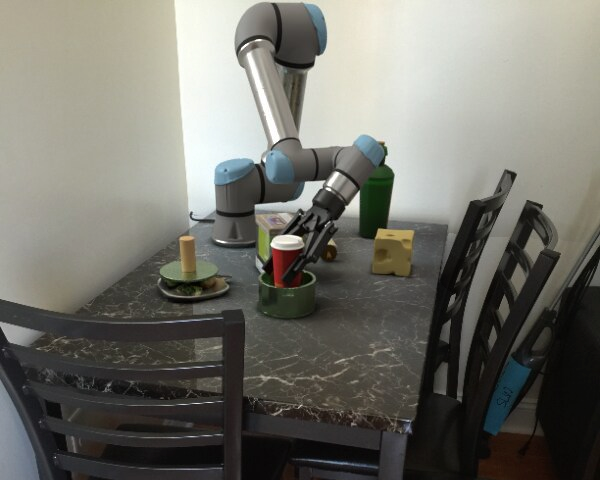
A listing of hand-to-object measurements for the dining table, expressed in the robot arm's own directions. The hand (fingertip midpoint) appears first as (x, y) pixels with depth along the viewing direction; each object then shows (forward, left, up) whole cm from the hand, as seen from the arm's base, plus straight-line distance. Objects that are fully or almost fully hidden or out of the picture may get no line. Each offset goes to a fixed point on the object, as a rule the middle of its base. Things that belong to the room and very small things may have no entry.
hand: (275, 277), depth 150 cm
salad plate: (-24, -6, -8) cm, 26 cm away
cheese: (+3, +43, -8) cm, 44 cm away
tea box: (-16, +18, -8) cm, 26 cm away
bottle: (-20, +65, -8) cm, 69 cm away
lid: (-24, -6, -3) cm, 25 cm away
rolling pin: (-22, +44, -8) cm, 50 cm away
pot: (+1, +3, -8) cm, 9 cm away
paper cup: (+1, +3, -6) cm, 7 cm away
